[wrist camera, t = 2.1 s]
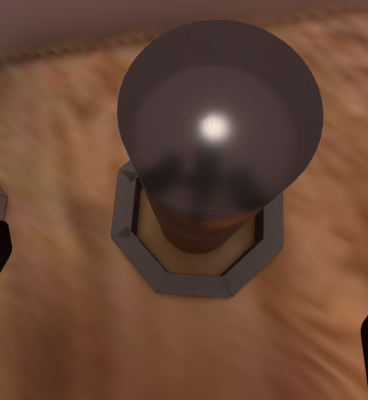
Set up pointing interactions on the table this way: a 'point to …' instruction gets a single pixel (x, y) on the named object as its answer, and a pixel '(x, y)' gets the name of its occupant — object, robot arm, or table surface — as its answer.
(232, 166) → the dark glossy cylinder
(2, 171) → the table surface
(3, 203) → the ring
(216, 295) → the socket ring
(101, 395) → the table surface
